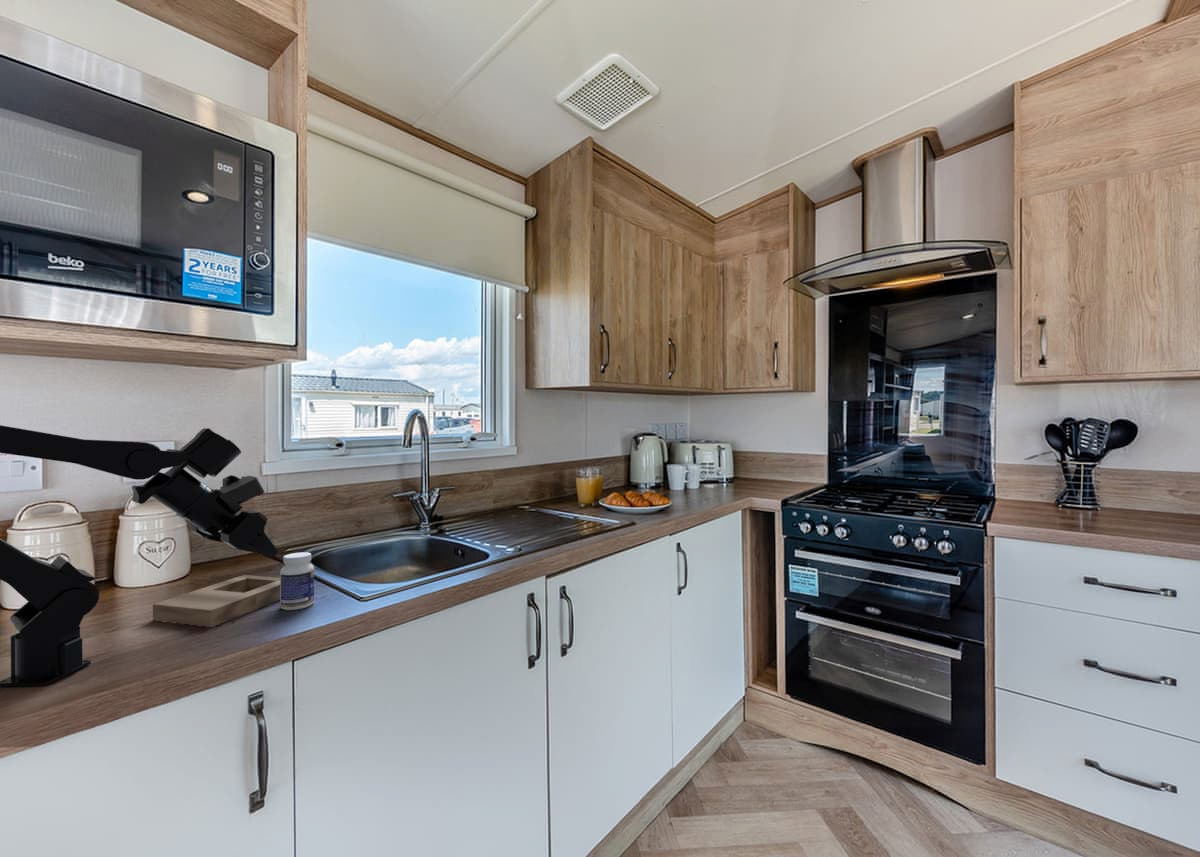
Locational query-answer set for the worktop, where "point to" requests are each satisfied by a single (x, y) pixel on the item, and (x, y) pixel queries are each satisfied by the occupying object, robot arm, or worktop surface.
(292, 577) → the pill bottle
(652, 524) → the worktop surface
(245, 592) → the brown block with opening
